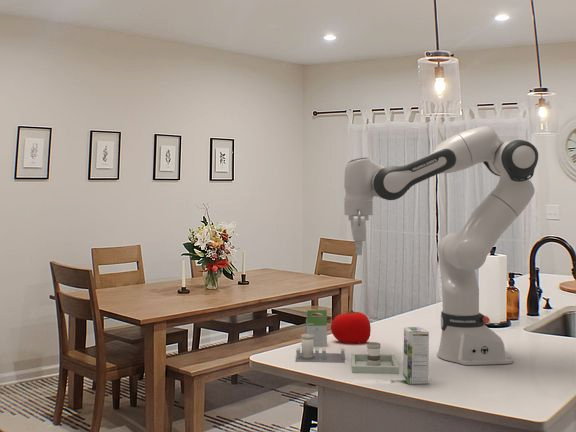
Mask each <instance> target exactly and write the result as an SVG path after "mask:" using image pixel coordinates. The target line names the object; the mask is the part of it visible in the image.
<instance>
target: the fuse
mask: <svg viewBox="0 0 576 432" xmlns="http://www.w3.org/2000/svg"><path fill="white" fill-rule="evenodd" d="M366 348H367V353H366V354H367V359H368V361H367V362H366V366H381V361H380V354H381V343H380V342H376V341H375V342H374V341H370V342H366Z"/></svg>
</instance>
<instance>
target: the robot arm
mask: <svg viewBox="0 0 576 432" xmlns="http://www.w3.org/2000/svg"><path fill="white" fill-rule="evenodd" d="M538 161H539V151H538V149H537V147H535V145H534V144H533V143H531V142H529V141H527V140H523V139H516V140H508V141H502V140H501V139H500V138H499V136H498V134H497V132H496V131H495V129H493V128H492V127H490V126H487V125H484V126H483V125H482V126H479V127H474V128H470V129H468V130H464V131H462V132H459V133H457V134H454V135H451V136H450V137H448V138H446V139H445V140H443V141H441V142H440V143H439V144H437V145H436V147H435V149H434V150H433V151H432V152H431V153H430V154H427V155H426V156H424V157H422V158H420V159H417V160H415V161H413V162H410V163H408V164H405V165H400V166H399V165H390V166H383V165H381V164H379V163H377V162H375V161H373V160H372V159H371V158H370V157H359V158H355V159H352V160H350V161H349V162H347V163H346V165H345V169H344V178H343V179H344V181H343V182H344V183H343V186H344V190H345V196H344V199H343V200H344V203H343V204H344V205H343V206H344V216H348V217H347V218H348V221H350V227H351V235H352V239H353V241H354V245H355V246H354V247H355V255H356V256H362V254H363V243H364V242H365V241H366V221H369V217H370V216H373V215H374V214H373V210H374V207H373V199H374V197H376V198H377V197H378V198H380V199H383V200H385V201H395V200H398V199H400V198H402V197H403V196H404V195H405V194H406V193H407V192H408V191H409V190H410V189H411V188H412V187H413V186H416V184H419V183H422V182H424V181H426V180H428V179H430V178H432V177H434V176H437V175H440V174H441V175H442V174H452V173H457V172H460V171H463V170H465V169H469V168H471V167H473V166H476V165H477V164H480V163H483V165H485V167H486V169H487V170H488V171H489V172H490V173H491V174H493V175H495V176H497V177H499V181H498V182H497V185H496V186H495V188H494V189H493V190H492V191H490V192H489V194H488V195H487V196H486V197H485V198H484V199H483V200H482V202H481V203H479V205H478V206H477V207H476V208H475V209H474V210H473V211H472V212H471V214H470V216H469V218H468V220H467V222H466V223H465V224H464V226H463V228H462V229H461V230H460V231H459V232H451V233H449V234H446V235H444V236H443V237H442V238H441V239H440V240H439V242H438V245H437V250H438V257H439V258H438V259H439V269H440V277H441V284H442V285H441V286H442V310H441V312H440V313H441V314H440V328H441V335H440V343H439V347H438V350H437V353H436V355H437V357H438V358H440V359H442V360H445V361H448V362H454V363H458V364H460V365H463V366H479V365H481V366H482V365H503V364H505V365H507V364H512V363H513V361H514V358H513V356H512V355H511V354H510V353H509V352H507V351H506V348H505V343H504V341H503V339H502V338H501V336H499V335H498V334H497V333H496V332H494V331H493V329H490V328H489V327H488V326H487V325H486V324H489V323H490V321H491V319H490V318H489V316H488V315H487V316H486V315H484V314H482V313H480V288H479V284H478V280H477V274H476V270H478V269H480V268H482V267H483V265H484V264H485V262H486V261H487V257H488V256H489V254H490V252H491V251H492V250H493V248H494V246H495V245H496V243H497V242H498V240H499V238H500V237H501V236H502V234H504V233H505V232H506V230H507V229H508V228H509V227H510V226H511V225H512V224H513V223H514V222H515V220H517V218H518V217H519V216H520V215H521V214H522V213H523V211H524V210H525V209H526V207H527V206H528V205H529V203H530V201H532V199H533V197H534V195H535V193H536V192H535V189H536V188H535V187H534V184H533V182H532V181H531V180H530V179H532V178H533V176H534V173H535V170H536V166H537V165H538Z"/></svg>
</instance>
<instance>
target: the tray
mask: <svg viewBox="0 0 576 432" xmlns="http://www.w3.org/2000/svg"><path fill="white" fill-rule="evenodd" d="M367 354H368V353H351V355H350V356H351V357H350V358H351V373H353V374H389V375H391V374H394V375H397V374H399V364H398V361H397V359H396V358H397V357H396V355H395V354H388V353H387V354H385V353H384V354H383V353H380V362H391V365H380V366H367V365H360V364H359V365H357V364H356V362H368V359H367Z"/></svg>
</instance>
